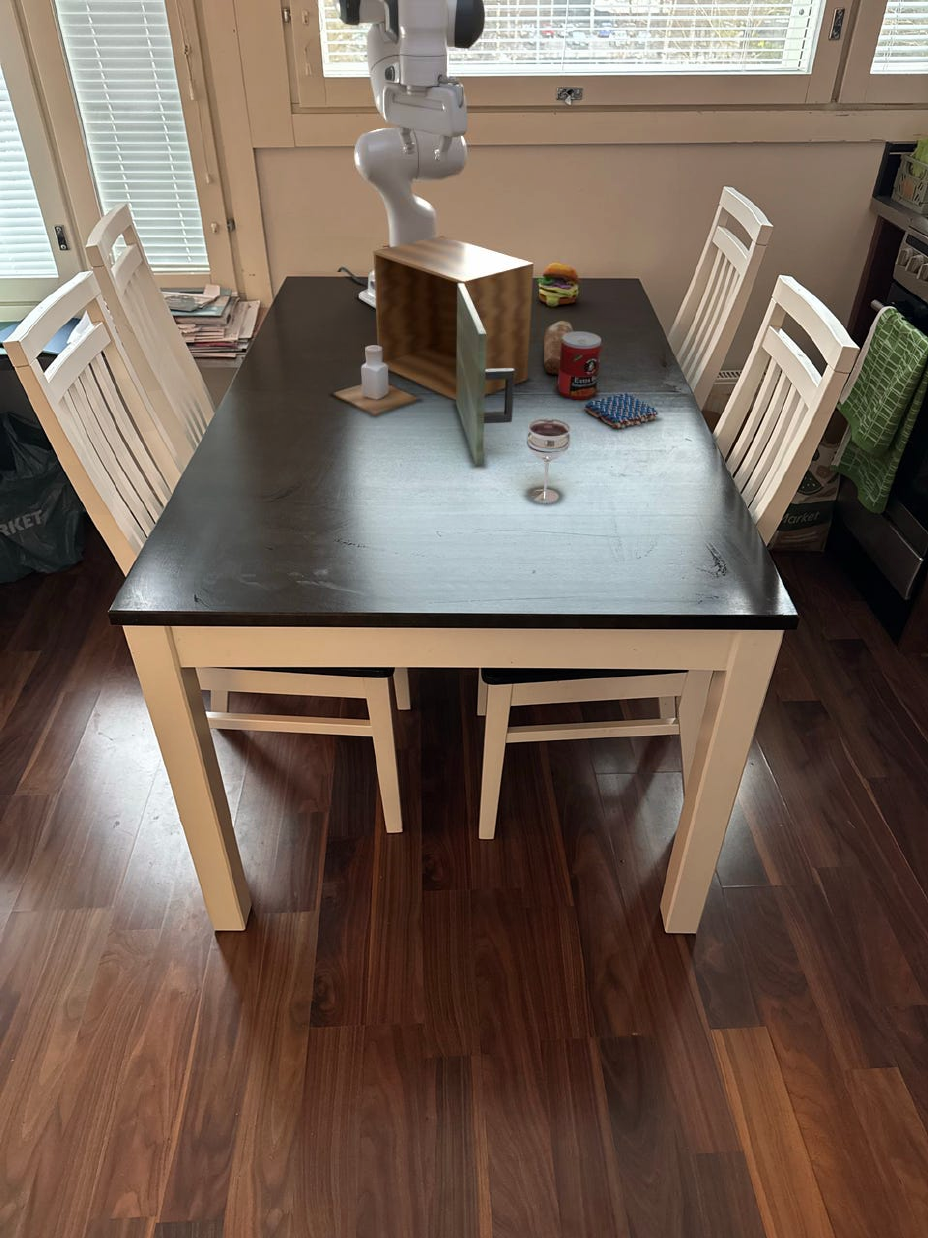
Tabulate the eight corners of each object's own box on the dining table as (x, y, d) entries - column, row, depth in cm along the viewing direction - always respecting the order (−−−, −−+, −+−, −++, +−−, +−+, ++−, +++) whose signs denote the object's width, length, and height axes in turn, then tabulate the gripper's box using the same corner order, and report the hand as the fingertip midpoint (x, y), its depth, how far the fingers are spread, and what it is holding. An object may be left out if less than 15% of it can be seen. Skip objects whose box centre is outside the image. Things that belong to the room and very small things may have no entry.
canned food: (571, 402, 179) (576, 347, 173) (549, 388, 185) (553, 334, 178) (604, 396, 182) (610, 341, 176) (581, 381, 188) (586, 328, 181)
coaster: (333, 395, 181) (333, 392, 180) (377, 381, 187) (377, 378, 186) (374, 416, 173) (374, 413, 173) (418, 400, 179) (418, 398, 179)
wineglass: (553, 510, 145) (559, 440, 138) (516, 499, 148) (519, 430, 141) (572, 493, 150) (579, 424, 143) (536, 482, 153) (540, 414, 146)
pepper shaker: (390, 394, 180) (388, 347, 174) (377, 401, 177) (375, 353, 172) (373, 389, 182) (371, 342, 176) (361, 396, 179) (358, 348, 173)
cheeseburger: (530, 304, 227) (535, 261, 223) (542, 302, 236) (547, 261, 232) (569, 309, 224) (575, 265, 220) (580, 307, 233) (586, 265, 229)
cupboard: (462, 403, 178) (464, 281, 165) (378, 365, 194) (373, 250, 180) (527, 380, 188) (533, 263, 174) (442, 345, 204) (441, 235, 190)
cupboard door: (488, 402, 178) (492, 282, 165) (512, 464, 158) (519, 332, 144) (456, 404, 178) (457, 283, 164) (475, 466, 157) (478, 333, 143)
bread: (573, 345, 204) (575, 320, 201) (564, 378, 189) (567, 351, 186) (545, 343, 205) (546, 318, 202) (534, 375, 190) (536, 349, 187)
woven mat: (660, 419, 174) (662, 409, 172) (616, 431, 169) (617, 421, 168) (625, 400, 181) (626, 390, 179) (582, 411, 176) (583, 401, 175)
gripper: (476, 77, 162) (474, 163, 170) (402, 66, 174) (403, 147, 182) (449, 79, 159) (449, 167, 167) (375, 68, 171) (378, 151, 179)
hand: (425, 156), depth 175 cm, fingers open, 8 cm apart
